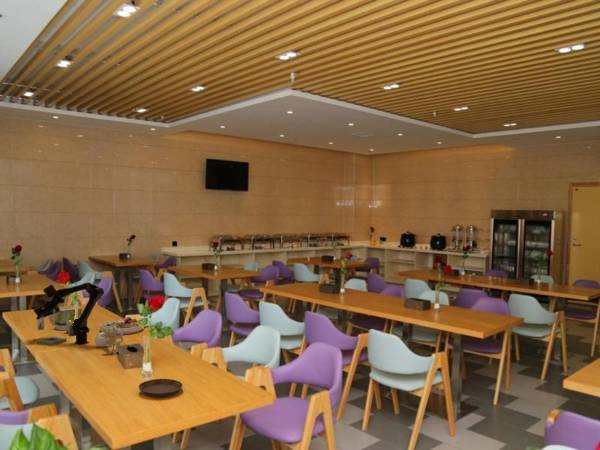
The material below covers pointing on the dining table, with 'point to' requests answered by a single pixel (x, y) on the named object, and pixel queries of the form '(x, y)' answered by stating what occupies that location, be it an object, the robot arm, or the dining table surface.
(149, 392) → the plant saucer
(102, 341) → the flower vase
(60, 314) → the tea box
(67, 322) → the brass bushing
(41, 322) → the steel roller
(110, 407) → the dining table surface
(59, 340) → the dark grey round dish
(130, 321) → the bowl
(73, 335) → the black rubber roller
